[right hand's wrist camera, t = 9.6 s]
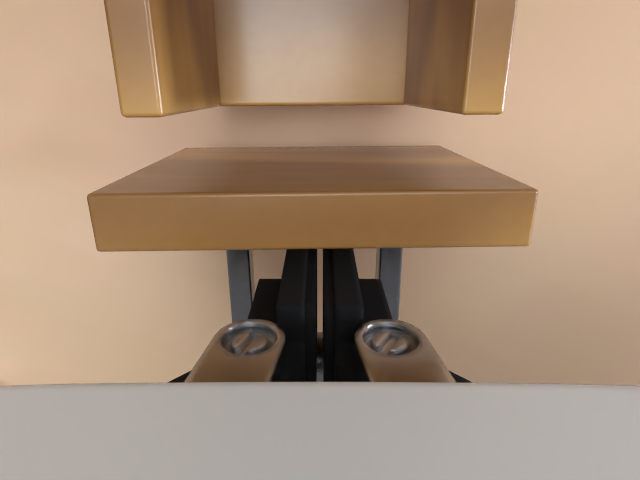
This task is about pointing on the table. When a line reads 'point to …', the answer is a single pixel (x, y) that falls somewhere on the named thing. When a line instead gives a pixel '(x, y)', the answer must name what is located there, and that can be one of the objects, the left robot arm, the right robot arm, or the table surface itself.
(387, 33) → the drawer
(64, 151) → the table surface
